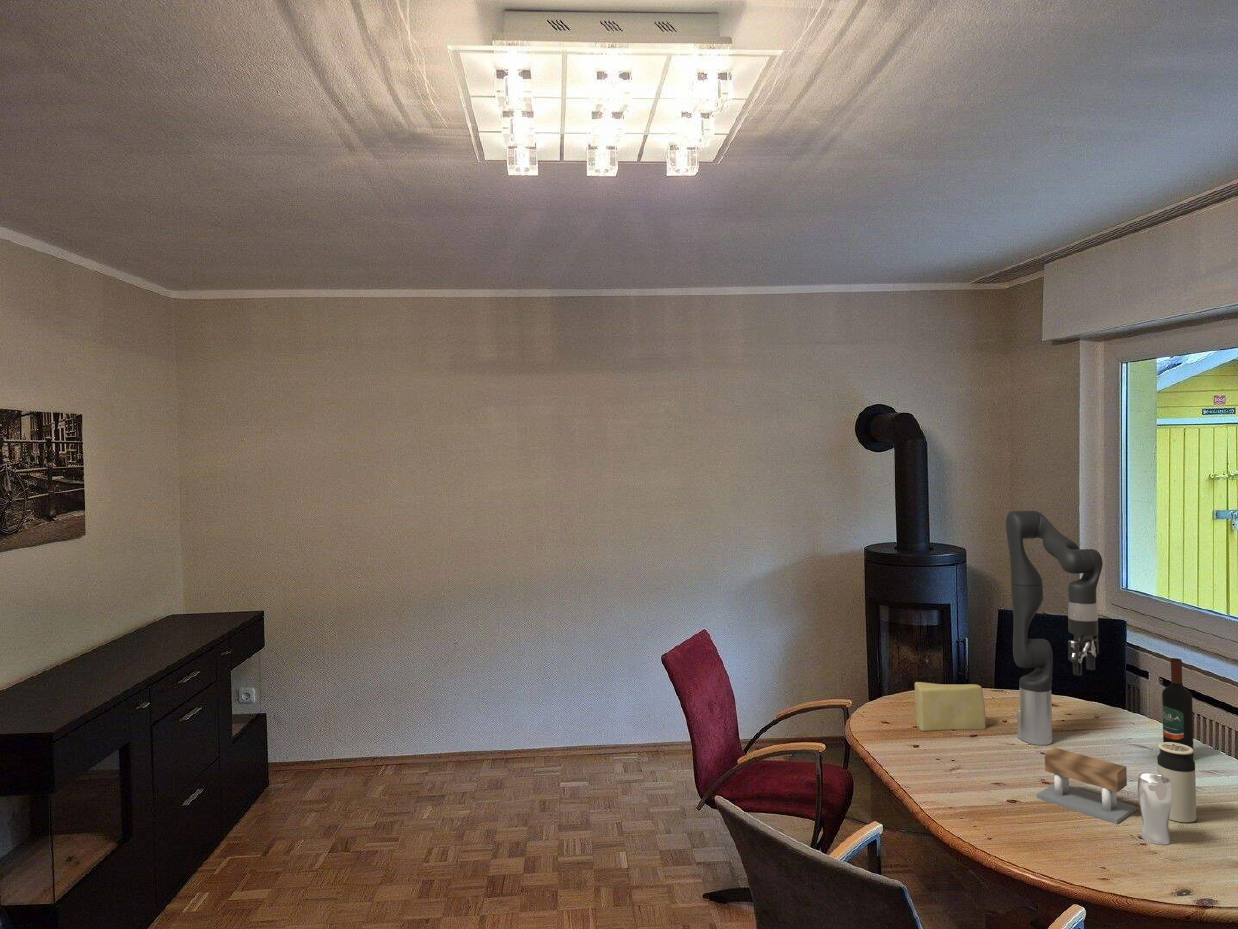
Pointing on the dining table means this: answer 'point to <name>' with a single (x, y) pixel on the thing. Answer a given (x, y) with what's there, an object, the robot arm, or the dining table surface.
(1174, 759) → the travel mug
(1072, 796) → the peg stand
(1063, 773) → the plank
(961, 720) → the cheese
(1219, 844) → the dining table surface
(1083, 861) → the dining table surface
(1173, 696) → the wine bottle
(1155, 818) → the beer glass
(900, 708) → the dining table surface
